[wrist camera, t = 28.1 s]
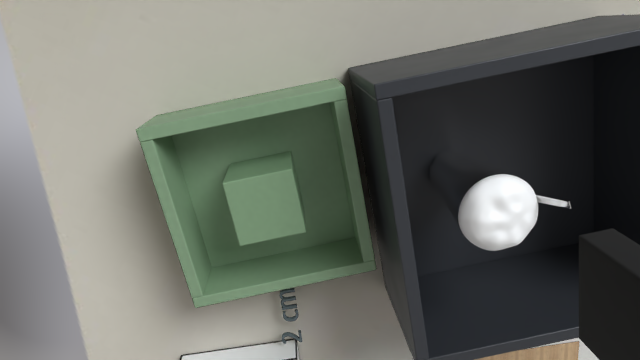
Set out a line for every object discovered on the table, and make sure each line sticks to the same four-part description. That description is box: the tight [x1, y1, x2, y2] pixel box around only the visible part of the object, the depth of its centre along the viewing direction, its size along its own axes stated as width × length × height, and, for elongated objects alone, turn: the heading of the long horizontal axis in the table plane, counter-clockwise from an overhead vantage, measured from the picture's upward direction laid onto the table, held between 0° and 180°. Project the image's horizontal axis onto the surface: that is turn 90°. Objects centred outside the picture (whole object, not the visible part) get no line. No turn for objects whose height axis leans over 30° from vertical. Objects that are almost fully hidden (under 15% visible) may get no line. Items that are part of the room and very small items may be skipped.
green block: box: [222, 151, 306, 246], centre depth 31 cm, size 4×4×4 cm
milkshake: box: [429, 150, 571, 251], centre depth 29 cm, size 5×5×10 cm
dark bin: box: [348, 15, 640, 360], centre depth 30 cm, size 18×18×10 cm
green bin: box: [136, 78, 377, 308], centre depth 31 cm, size 13×13×5 cm
